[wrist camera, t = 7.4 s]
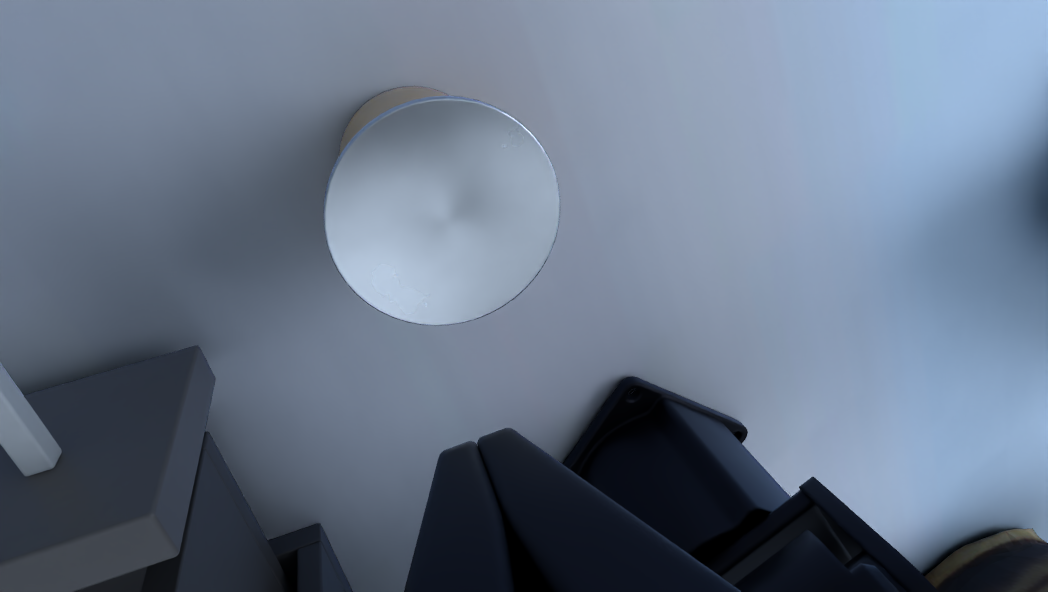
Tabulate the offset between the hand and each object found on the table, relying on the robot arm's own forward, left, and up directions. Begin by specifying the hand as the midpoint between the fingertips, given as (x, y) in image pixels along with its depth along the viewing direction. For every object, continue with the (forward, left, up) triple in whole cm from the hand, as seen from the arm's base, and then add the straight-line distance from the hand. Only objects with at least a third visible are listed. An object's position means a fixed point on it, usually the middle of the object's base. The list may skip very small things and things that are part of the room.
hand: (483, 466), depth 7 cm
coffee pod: (-1, +1, -12) cm, 12 cm away
